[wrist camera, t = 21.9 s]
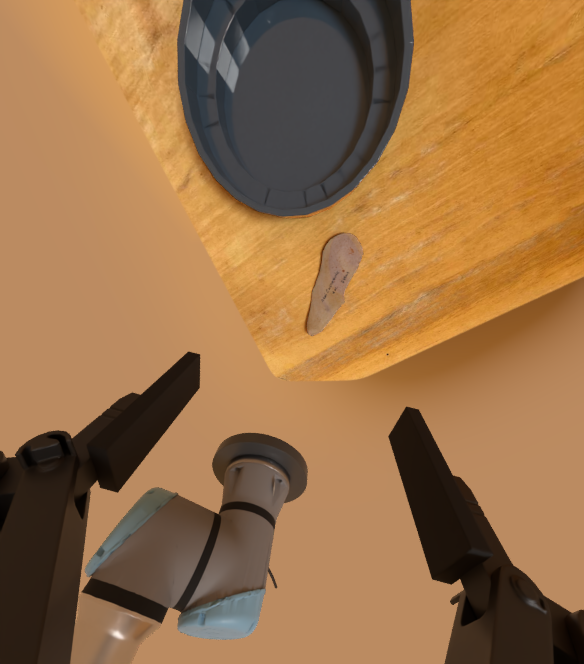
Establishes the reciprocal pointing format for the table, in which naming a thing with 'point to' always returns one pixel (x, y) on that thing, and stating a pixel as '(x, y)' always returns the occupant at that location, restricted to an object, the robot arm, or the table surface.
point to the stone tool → (333, 280)
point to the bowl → (293, 94)
